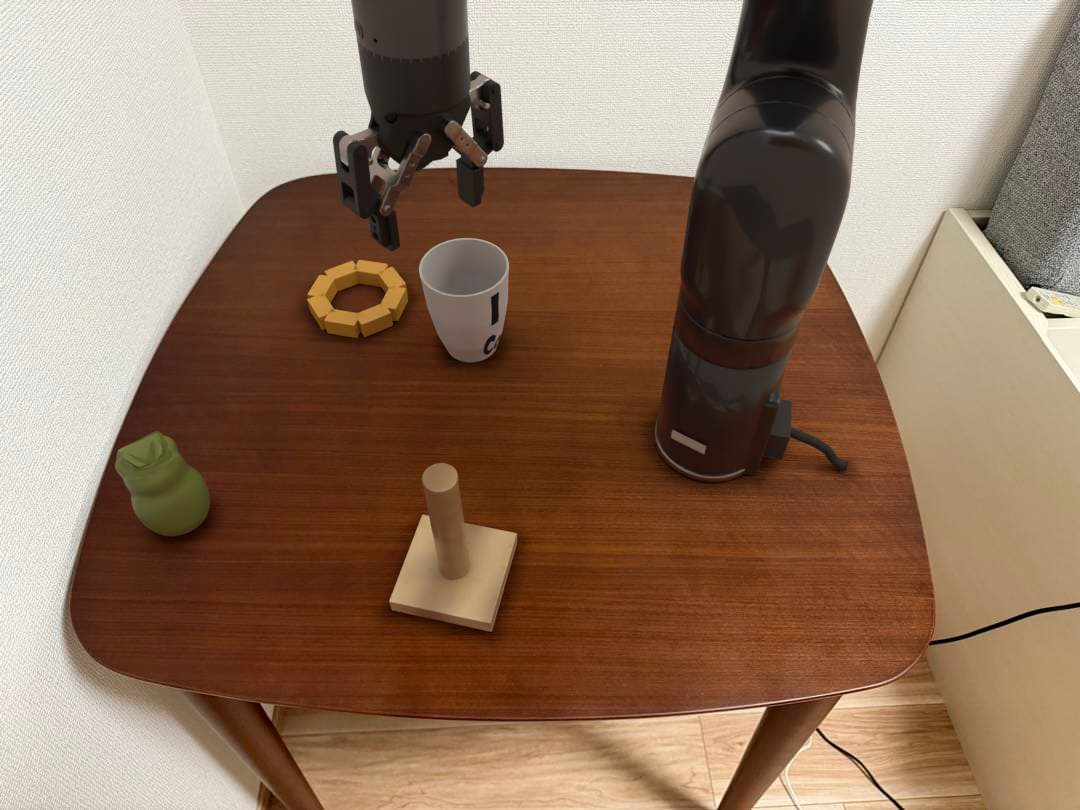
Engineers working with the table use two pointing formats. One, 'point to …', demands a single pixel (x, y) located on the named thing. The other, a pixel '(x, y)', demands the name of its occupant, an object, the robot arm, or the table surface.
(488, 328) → the cup
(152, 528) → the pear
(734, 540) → the table surface
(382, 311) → the ring
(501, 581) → the stand
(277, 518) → the table surface
